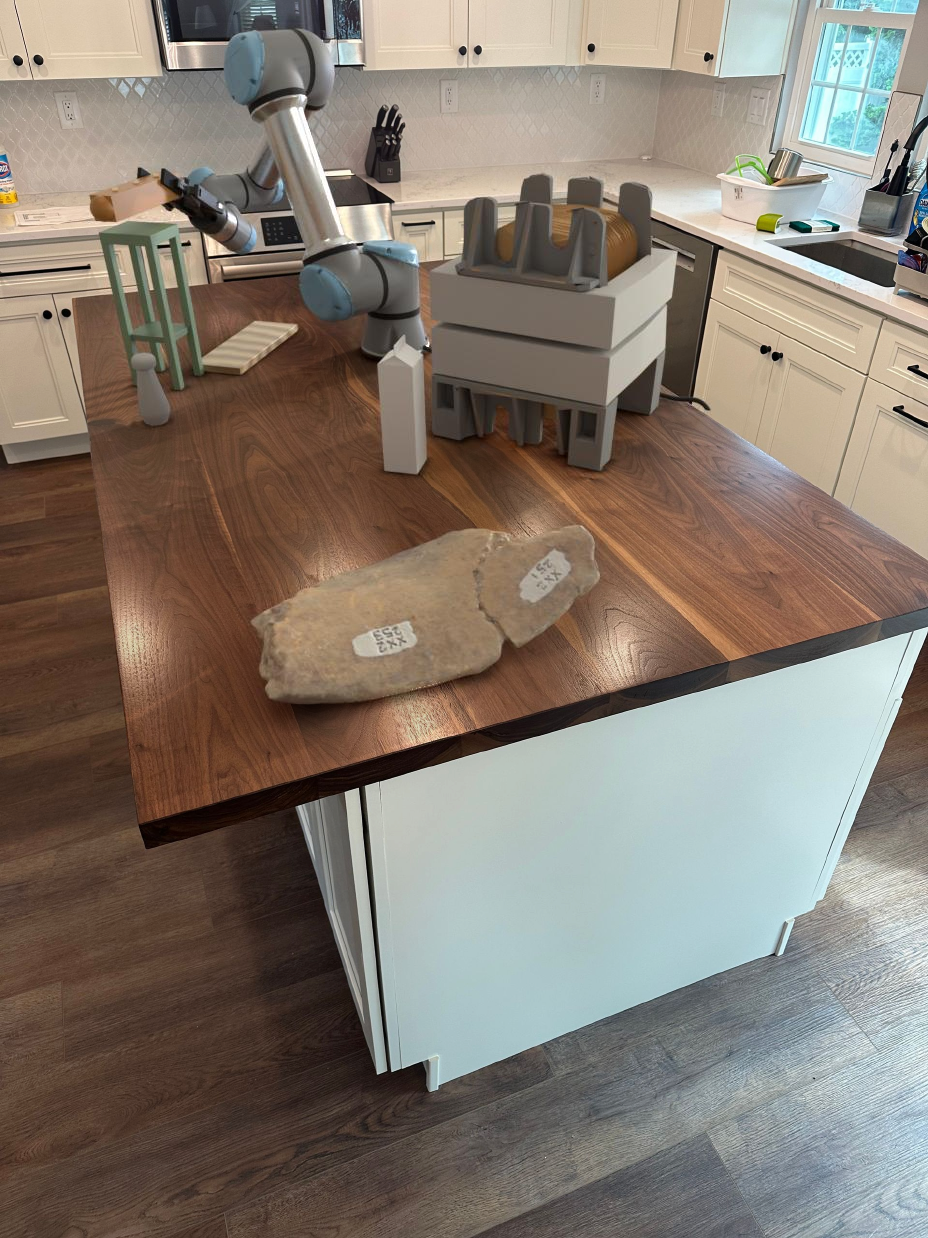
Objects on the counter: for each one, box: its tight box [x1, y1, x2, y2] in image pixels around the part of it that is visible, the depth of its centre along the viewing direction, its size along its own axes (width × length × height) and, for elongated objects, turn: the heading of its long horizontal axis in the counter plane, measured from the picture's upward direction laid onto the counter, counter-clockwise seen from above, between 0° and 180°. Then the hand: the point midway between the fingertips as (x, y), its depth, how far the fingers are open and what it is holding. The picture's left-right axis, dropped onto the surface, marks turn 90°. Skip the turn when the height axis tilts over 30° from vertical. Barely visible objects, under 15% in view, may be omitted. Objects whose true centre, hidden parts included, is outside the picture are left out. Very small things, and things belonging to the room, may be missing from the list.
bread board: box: [201, 320, 299, 376], centre depth 204 cm, size 30×11×2 cm, turn 165°
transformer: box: [429, 172, 678, 472], centre depth 159 cm, size 34×33×41 cm
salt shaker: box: [131, 352, 171, 427], centre depth 168 cm, size 6×6×13 cm
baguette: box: [88, 171, 182, 223], centre depth 171 cm, size 28×4×5 cm, turn 165°
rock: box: [250, 524, 601, 705], centre depth 115 cm, size 45×11×26 cm
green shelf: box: [98, 220, 205, 391], centre depth 181 cm, size 10×11×30 cm
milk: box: [376, 335, 428, 475], centre depth 150 cm, size 6×6×22 cm
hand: (150, 174), depth 174 cm, fingers closed on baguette, 4 cm apart
